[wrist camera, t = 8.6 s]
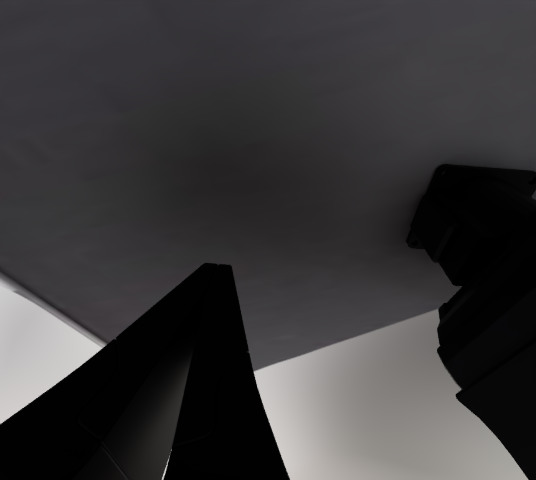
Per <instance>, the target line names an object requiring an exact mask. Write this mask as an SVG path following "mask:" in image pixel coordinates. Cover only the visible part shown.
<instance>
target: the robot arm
mask: <svg viewBox="0 0 536 480" xmlns="http://www.w3.org/2000/svg"><path fill="white" fill-rule="evenodd" d="M446 170H447V173H446V174H445V175H442V173H443V172H444V171H446ZM531 178H533V179H532V180H531V181H530V182H529V180H530V179H531ZM535 190H536V172H535V171H525V170H512V169H499V168H487V167H474V166H461V165H448V164H445V165H441V166H440V167H438V168H437V170H436V171H435V173H434V176H433V178H432V180H431V183H430V185H429V188H428V190H427V192H426V194H425V195H424V196H423V197H422V199H421V201H420V204H419V206H418V208H417V211H416V213H415V216H414V218H413V220H412V223H411V225H410V227H411V230H410V232H409V235H408V237H407V239H406V242H407V244H408V246H409V247H410V248H416V249H425V250H426V252H427V253H428V255H429V256H430V258H431V259H432V261H433V262H434V263H439V264H440V266H441V267H442V269H443V270H444V272H445V273H446V275H447V276H448V278H449V279H450V281H451V282H452V284H453V285H455V286H462V288H461V289H460V290H459V291H458V292H457V293H456V294H455V295H454V296H453V297H452V298H451V299H450V300H449V301H448V302H447V303H444V304H443V305H442V306H441V307H440V308H439V309H438V311H439V318H440V323H439V326H438V328H437V332H438V338H439V344H440V346H439V347H438V349H437V352H438V354H439V357H440V359H441V361H442V363H443V365H444V367H445V369H446V370H447V371H448V373H449V374H450V375H451V377H452V378H453V380H454V381H455V383H456V384H457V385H458V386H459V387H460V388H461V389H462V390H461V391H459V392H458V393H457V394H456V398H457V399H458V401H460V402H461V403H462V404H463V405H464V406H466V407H467V408H468V409H469V410H470V411H471V412H473V413H474V414H475V415H476V416H477V417H479V418H480V419H481V421H483V423H484V424H485V425H486V426H487V427H488V428H489V429H490V430H491V431H492V432H493V433H494V434H495V435H496V437H497V438H498V439H499V440H500V441H501V443H502V444H503V445H504V447H505V448H506V449H507V450H508V452H509V453H510V454H511V456H512V457H513V458H514V460H515V461H516V463H517V464H518V465H519V467H520V468H521V470H522V471H523V472H524V474H525V475H526V477H527V478H528V479H529V480H536V200H535V199H533V198H532V197H531V196H532V195H533V193H534V192H535ZM414 240H416V241H415V242H413V243H412V241H414ZM171 450H172V451H171ZM169 456H170V457H169ZM168 459H169V462H168V466H167V470H166V473H165V476H164V480H290V478H289V476H288V473H287V471H286V468H285V466H284V463H283V460H282V457H281V454H280V451H279V449H278V446H277V443H276V440H275V437H274V435H273V432H272V429H271V426H270V423H269V421H268V418H267V415H266V412H265V409H264V406H263V403H262V400H261V397H260V394H259V391H258V388H257V384H256V380H255V376H254V372H253V368H252V363H251V358H250V354H249V349H248V344H247V339H246V334H245V329H244V325H243V320H242V315H241V310H240V305H239V300H238V295H237V290H236V285H235V280H234V275H233V271H232V266H231V265H225V264H219V265H217V264H214V263H204V264H203V265H201V266H200V267H199V268H198V269H197V270H195V271H194V272H193V273H192V274H191V275H190V276H188V277H187V278H186V279H185V280H184V281H182V282H181V283H180V284H179V285H178V286H176V287H175V288H174V289H173V290H172V291H170V292H169V293H168V294H167V295H166V296H165V297H163V298H162V299H161V300H160V301H159V302H157V303H156V304H155V305H154V306H153V307H151V308H150V309H149V310H148V311H147V312H145V313H144V314H143V315H142V316H141V317H140V318H138V319H137V320H136V321H135V322H134V323H132V324H131V325H130V326H129V327H128V328H126V329H125V330H124V331H123V332H122V333H120V334H119V335H118V336H117V337H116V340H115V339H113V340H112V341H111V342H110V343H108V344H107V345H106V346H105V347H104V348H102V349H101V350H100V351H99V352H98V353H96V354H95V355H94V356H93V357H92V358H90V359H89V360H88V361H86V362H85V363H84V364H83V365H81V366H80V367H79V368H77V369H76V370H75V371H73V372H72V373H71V374H69V375H68V376H67V377H65V378H64V379H63V380H61V381H60V382H59V383H57V384H56V385H55V386H53V387H52V388H50V389H49V390H47V391H46V392H45V393H43V394H42V395H41V396H39V397H38V398H36V399H35V400H34V401H32V402H31V403H29V404H28V405H27V406H25V407H24V408H22V409H21V410H20V411H18V412H17V413H15V414H14V415H13V416H11V417H10V418H9V419H7V420H6V421H4V422H3V423H2V424H0V480H162V477H163V473H164V470H165V467H166V465H167V461H168Z"/></svg>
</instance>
